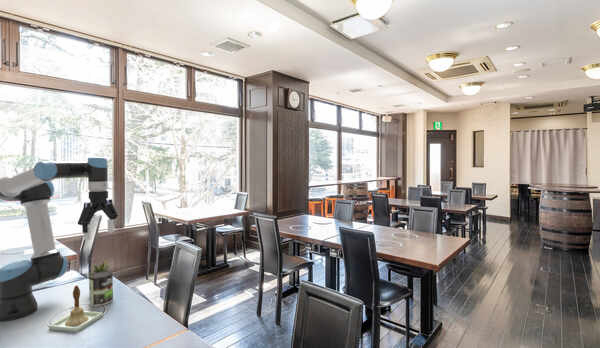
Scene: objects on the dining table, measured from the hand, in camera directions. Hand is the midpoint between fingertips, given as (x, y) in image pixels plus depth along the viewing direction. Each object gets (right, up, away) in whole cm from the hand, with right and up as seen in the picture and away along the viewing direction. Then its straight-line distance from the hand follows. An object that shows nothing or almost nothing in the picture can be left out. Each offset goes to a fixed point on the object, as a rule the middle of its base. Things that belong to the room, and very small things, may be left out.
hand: (99, 236), depth 141 cm
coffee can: (-8, -37, +14) cm, 40 cm away
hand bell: (-5, -37, -7) cm, 38 cm away
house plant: (-18, -36, +28) cm, 49 cm away
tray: (-5, -37, -7) cm, 38 cm away
